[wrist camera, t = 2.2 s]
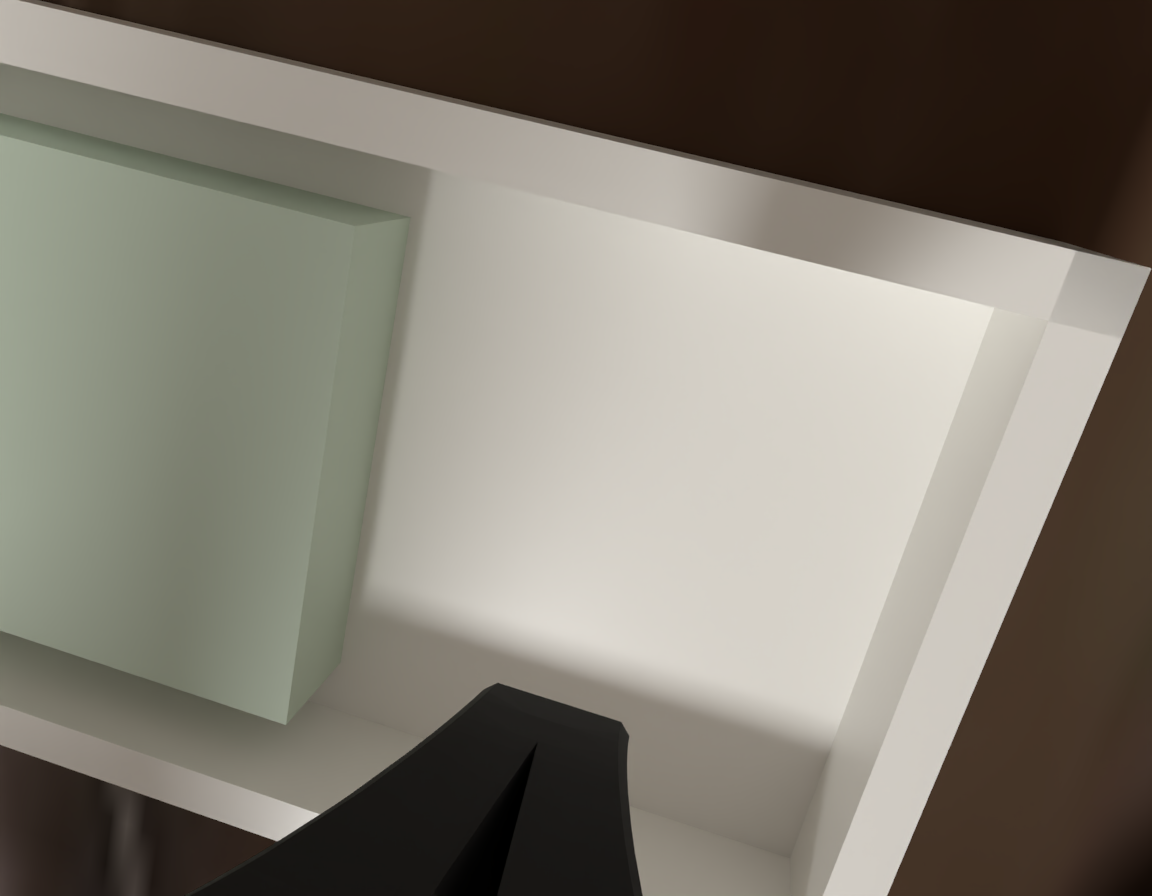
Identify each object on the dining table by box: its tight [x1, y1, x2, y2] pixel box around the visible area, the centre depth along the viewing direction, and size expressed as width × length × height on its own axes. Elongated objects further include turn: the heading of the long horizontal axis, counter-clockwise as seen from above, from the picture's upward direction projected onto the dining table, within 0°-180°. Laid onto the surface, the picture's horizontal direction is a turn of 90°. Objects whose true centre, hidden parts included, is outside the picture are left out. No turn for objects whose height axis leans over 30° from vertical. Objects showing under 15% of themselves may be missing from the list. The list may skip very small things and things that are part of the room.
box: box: [0, 0, 1151, 896], centre depth 15 cm, size 12×21×4 cm, turn 78°
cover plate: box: [0, 113, 411, 725], centre depth 15 cm, size 8×11×2 cm
